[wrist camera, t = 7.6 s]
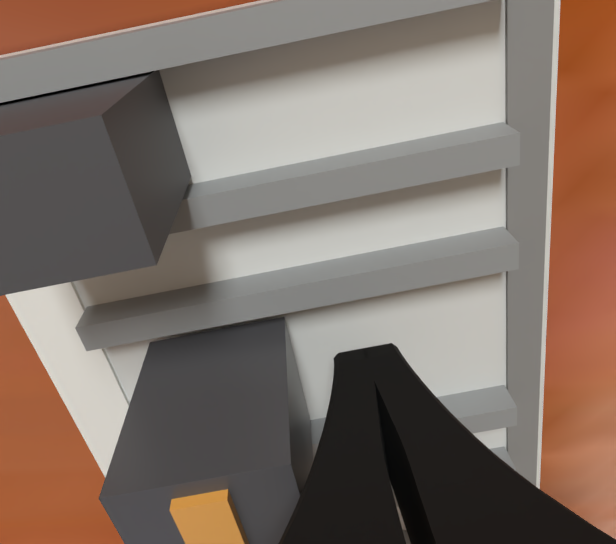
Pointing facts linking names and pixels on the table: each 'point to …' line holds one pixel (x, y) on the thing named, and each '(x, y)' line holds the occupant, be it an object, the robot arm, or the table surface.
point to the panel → (291, 199)
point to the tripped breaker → (212, 440)
